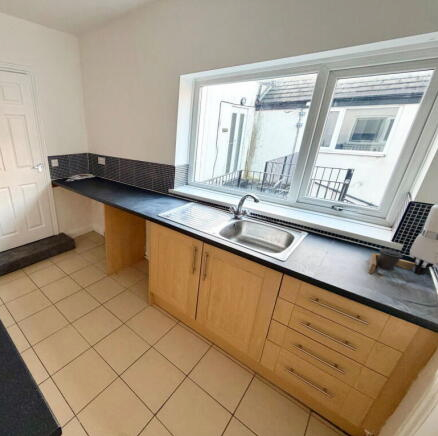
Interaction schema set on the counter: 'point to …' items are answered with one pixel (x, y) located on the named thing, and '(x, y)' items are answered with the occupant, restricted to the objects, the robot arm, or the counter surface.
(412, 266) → the corner guard
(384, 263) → the coffee cup
